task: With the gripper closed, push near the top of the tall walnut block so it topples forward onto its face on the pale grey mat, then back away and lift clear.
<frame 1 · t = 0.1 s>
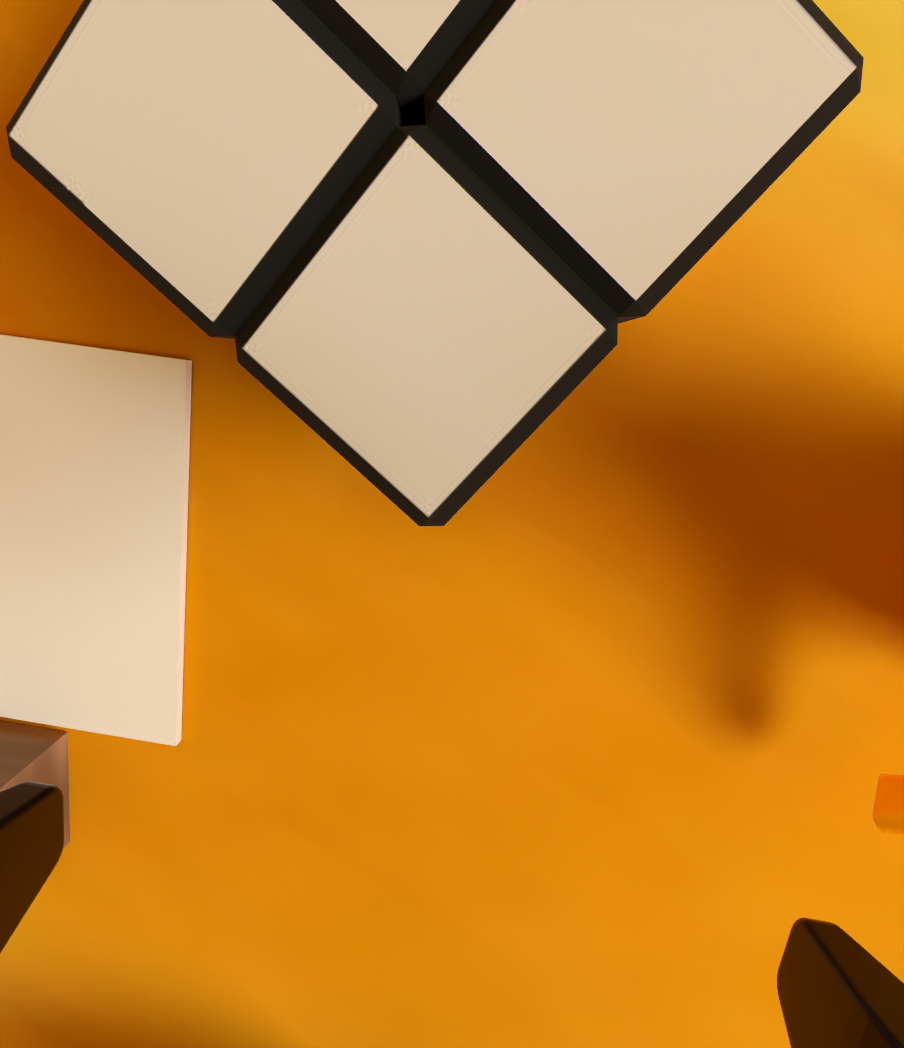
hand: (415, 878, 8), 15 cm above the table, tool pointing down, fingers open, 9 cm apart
puzzle cube: (457, 227, 20), on the table
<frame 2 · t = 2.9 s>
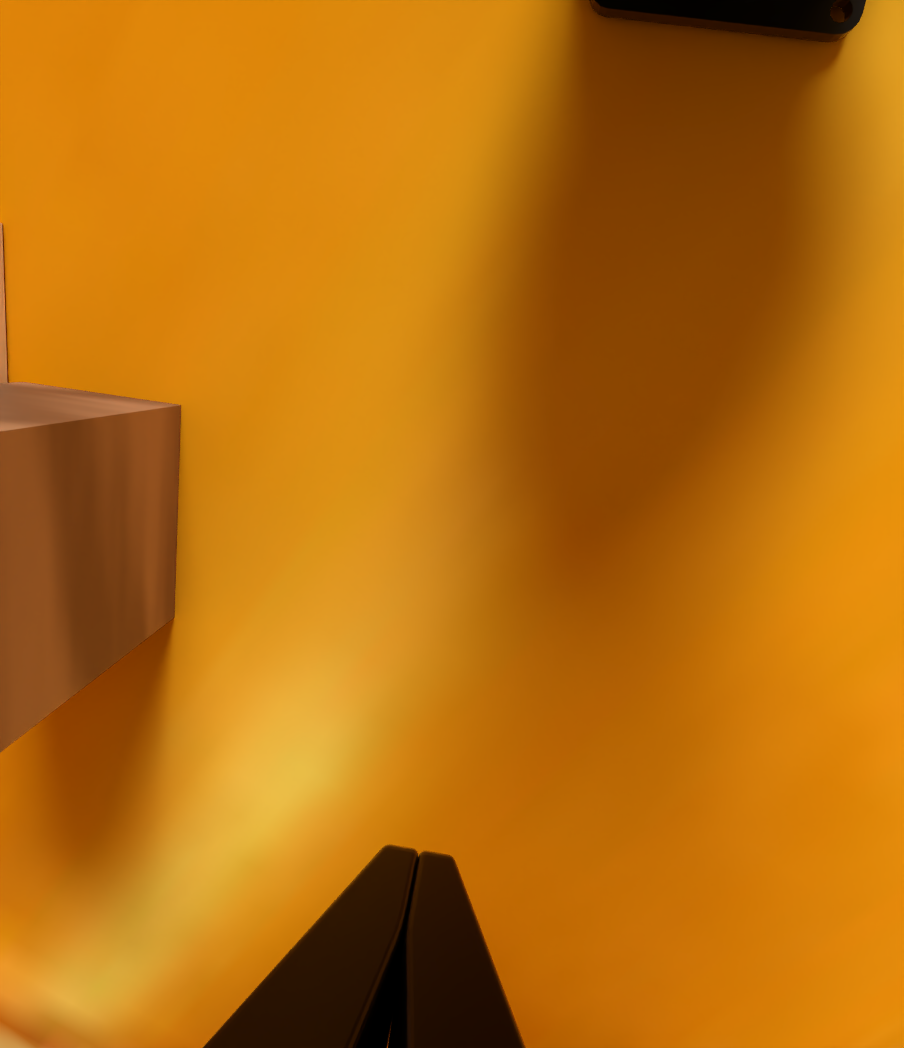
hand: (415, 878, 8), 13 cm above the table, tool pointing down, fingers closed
walnut block: (101, 503, 21), on the table
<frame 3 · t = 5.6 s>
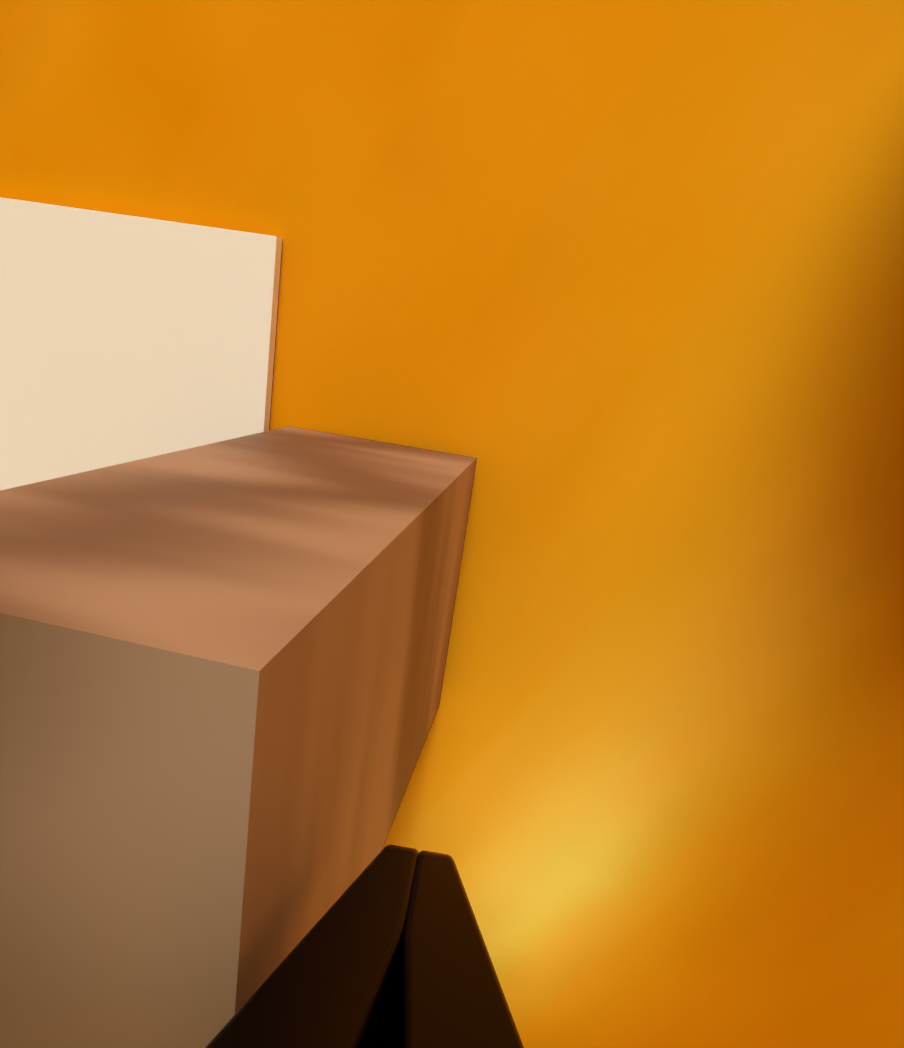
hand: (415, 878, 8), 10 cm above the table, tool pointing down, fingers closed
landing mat: (16, 510, 19), on the table
walnut block: (366, 570, 18), on the table, tilted 5°, touching gripper
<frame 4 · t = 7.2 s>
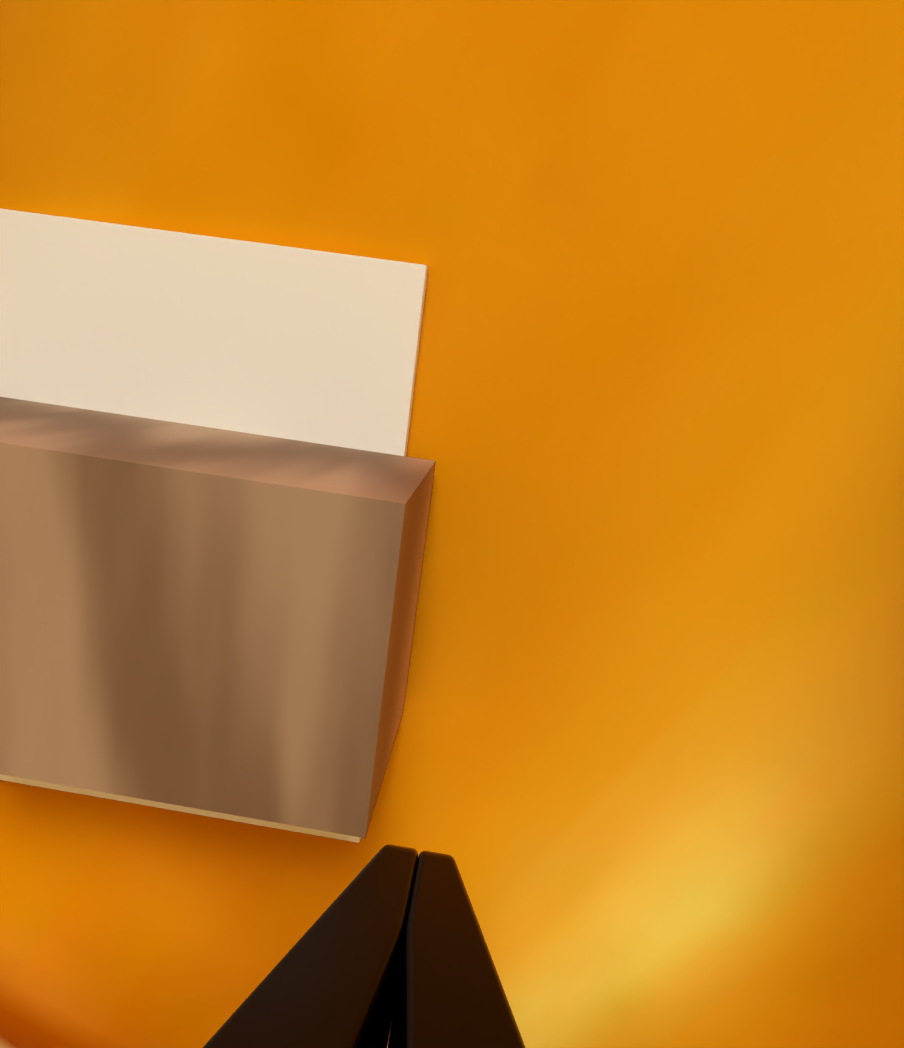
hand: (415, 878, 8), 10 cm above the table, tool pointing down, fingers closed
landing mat: (139, 543, 18), on the table
walnut block: (404, 630, 15), point 3 cm above the table, tilted 90°, touching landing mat
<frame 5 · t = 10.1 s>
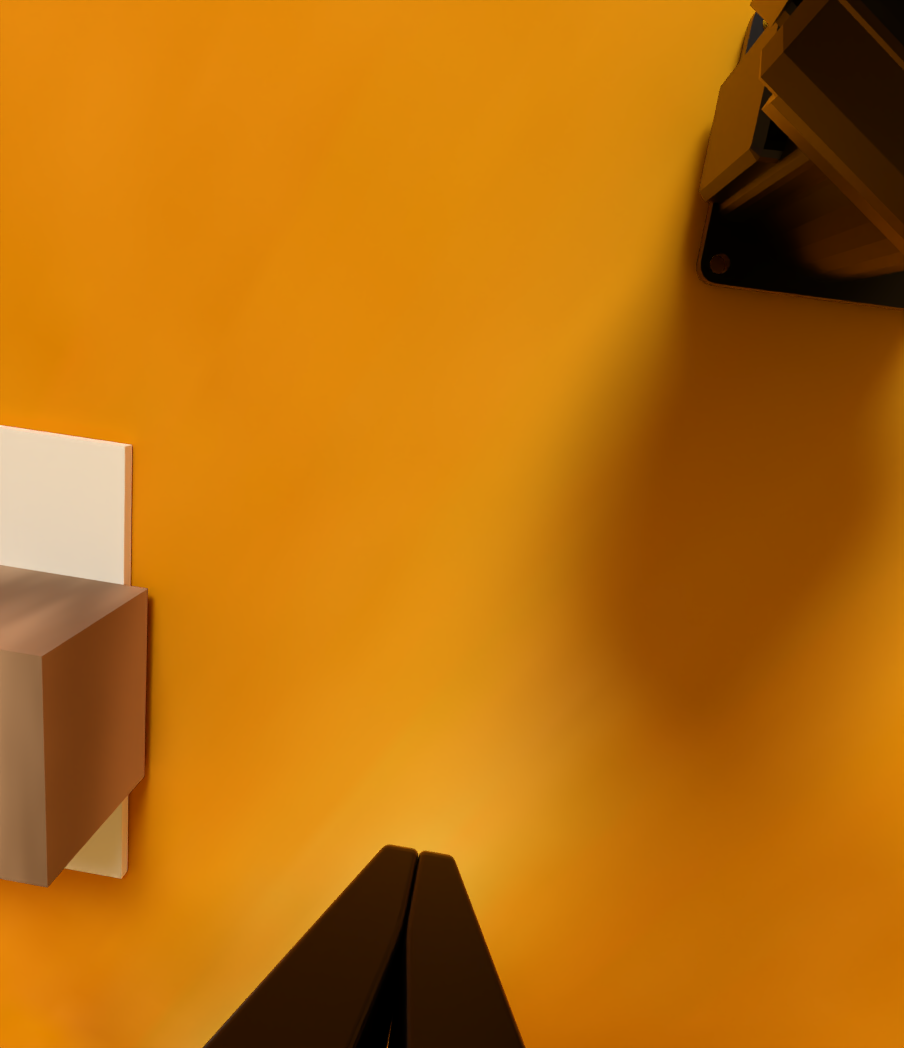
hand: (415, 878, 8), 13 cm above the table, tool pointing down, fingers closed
walnut block: (101, 726, 20), point 3 cm above the table, tilted 90°, touching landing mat
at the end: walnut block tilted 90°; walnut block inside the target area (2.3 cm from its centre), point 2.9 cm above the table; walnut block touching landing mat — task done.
